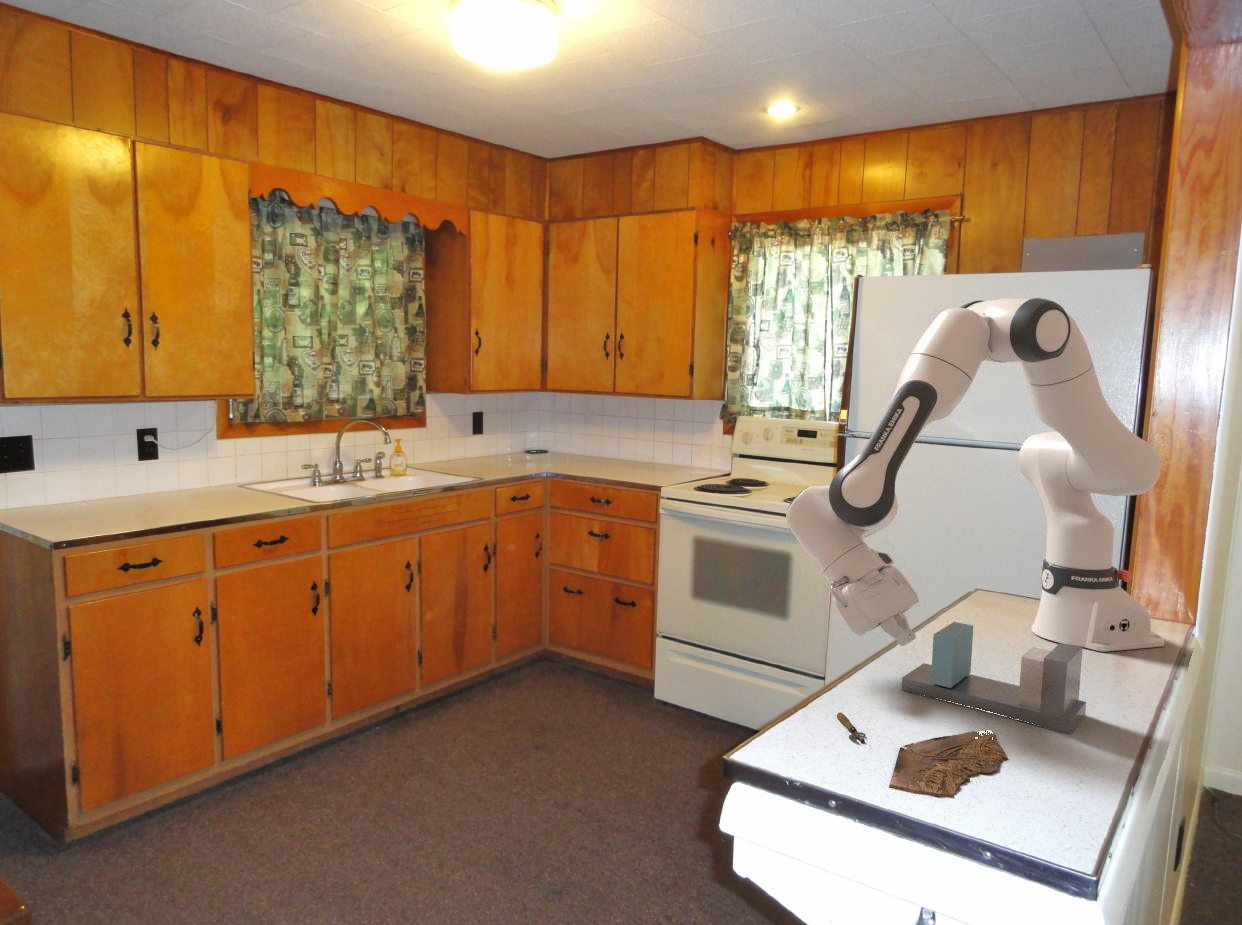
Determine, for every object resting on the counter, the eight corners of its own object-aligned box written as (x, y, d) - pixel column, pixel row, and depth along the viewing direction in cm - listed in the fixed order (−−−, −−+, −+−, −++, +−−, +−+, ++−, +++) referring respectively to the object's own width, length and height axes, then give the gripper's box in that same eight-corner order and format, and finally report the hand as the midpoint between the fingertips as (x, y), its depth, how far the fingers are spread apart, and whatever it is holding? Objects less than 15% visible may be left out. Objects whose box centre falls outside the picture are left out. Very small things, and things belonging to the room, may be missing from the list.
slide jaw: (930, 683, 128) (933, 634, 127) (951, 667, 135) (954, 621, 134) (950, 688, 126) (953, 638, 125) (970, 672, 133) (973, 625, 132)
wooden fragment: (934, 810, 95) (935, 801, 95) (853, 774, 104) (854, 765, 104) (1038, 750, 112) (1039, 742, 111) (961, 722, 120) (961, 715, 120)
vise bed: (901, 689, 131) (904, 628, 130) (923, 674, 138) (926, 616, 137) (1070, 734, 116) (1075, 664, 115) (1085, 715, 122) (1090, 649, 121)
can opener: (836, 719, 120) (836, 711, 120) (852, 719, 120) (852, 712, 120) (853, 747, 111) (853, 739, 111) (870, 747, 111) (871, 739, 111)
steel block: (1018, 703, 121) (1021, 656, 121) (1029, 691, 126) (1033, 646, 125) (1040, 709, 119) (1044, 661, 119) (1051, 697, 124) (1054, 651, 123)
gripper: (840, 572, 130) (897, 647, 125) (893, 552, 146) (946, 618, 140) (813, 595, 134) (868, 669, 128) (867, 573, 149) (918, 638, 144)
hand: (909, 642), depth 134 cm, fingers closed
